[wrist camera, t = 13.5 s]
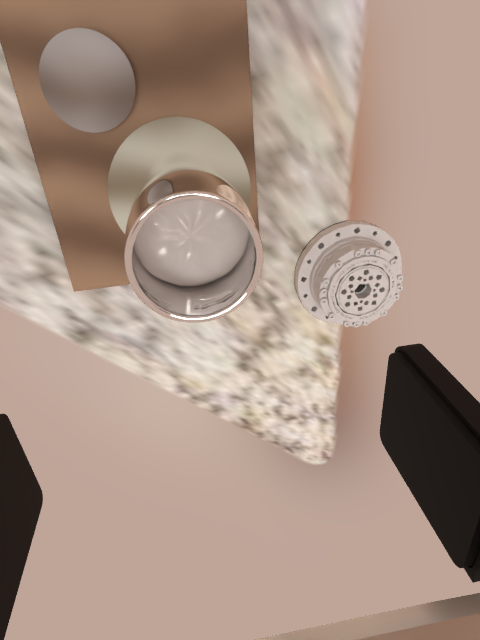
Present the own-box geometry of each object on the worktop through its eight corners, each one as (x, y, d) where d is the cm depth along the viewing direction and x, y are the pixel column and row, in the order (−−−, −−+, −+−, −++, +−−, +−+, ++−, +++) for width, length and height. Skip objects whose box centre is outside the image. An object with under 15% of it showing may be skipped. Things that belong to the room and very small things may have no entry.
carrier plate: (-7, 0, 27) (-21, -7, 25) (242, -17, 29) (248, -24, 27) (76, 285, 37) (71, 297, 35) (258, 262, 39) (263, 272, 36)
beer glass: (127, 151, 31) (101, 200, 18) (222, 137, 32) (261, 176, 19) (148, 241, 35) (138, 337, 22) (233, 228, 35) (273, 314, 22)
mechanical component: (289, 320, 42) (384, 314, 44) (302, 344, 39) (405, 336, 40) (298, 221, 38) (404, 218, 39) (312, 236, 34) (430, 232, 35)
